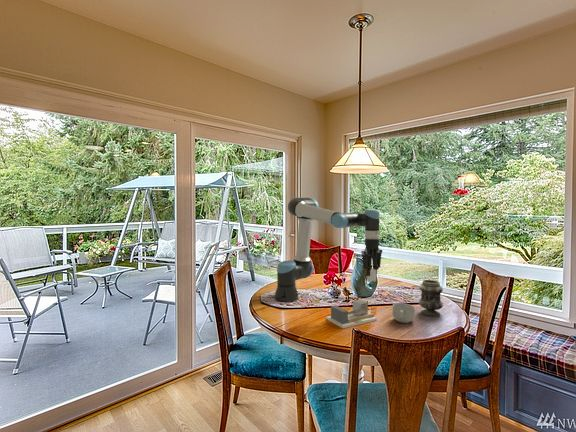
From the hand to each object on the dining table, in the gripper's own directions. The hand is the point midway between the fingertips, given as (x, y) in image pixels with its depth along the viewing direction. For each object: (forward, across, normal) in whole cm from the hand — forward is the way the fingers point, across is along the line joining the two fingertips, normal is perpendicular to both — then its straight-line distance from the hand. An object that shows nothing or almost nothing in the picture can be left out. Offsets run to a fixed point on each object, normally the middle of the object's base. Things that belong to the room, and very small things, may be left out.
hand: (371, 281), depth 167 cm
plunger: (+17, -8, -2) cm, 19 cm away
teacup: (+19, +7, -15) cm, 25 cm away
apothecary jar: (+19, +30, -14) cm, 38 cm away
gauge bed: (+19, -14, 0) cm, 23 cm away
